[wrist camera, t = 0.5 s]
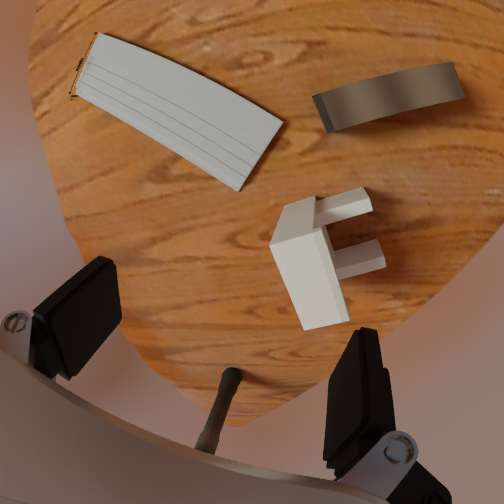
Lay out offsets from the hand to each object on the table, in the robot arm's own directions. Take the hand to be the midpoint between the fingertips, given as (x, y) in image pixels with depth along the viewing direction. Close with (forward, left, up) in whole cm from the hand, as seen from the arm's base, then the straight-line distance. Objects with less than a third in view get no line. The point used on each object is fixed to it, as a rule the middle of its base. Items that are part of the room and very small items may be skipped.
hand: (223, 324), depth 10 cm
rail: (-14, -6, -28) cm, 31 cm away
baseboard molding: (+12, -16, -28) cm, 35 cm away
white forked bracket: (-2, +8, -27) cm, 29 cm away
